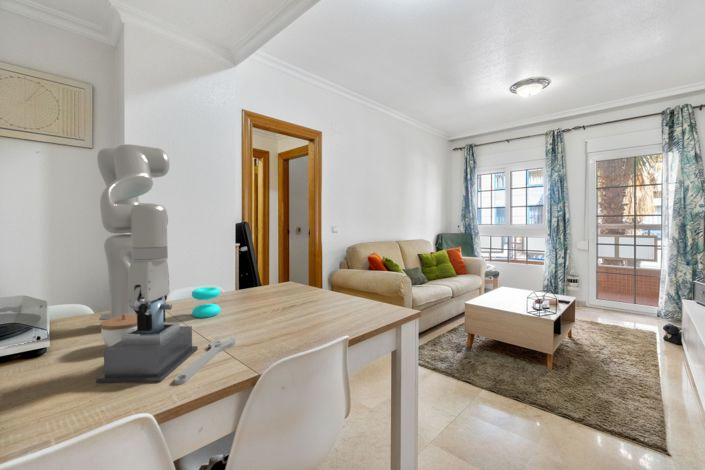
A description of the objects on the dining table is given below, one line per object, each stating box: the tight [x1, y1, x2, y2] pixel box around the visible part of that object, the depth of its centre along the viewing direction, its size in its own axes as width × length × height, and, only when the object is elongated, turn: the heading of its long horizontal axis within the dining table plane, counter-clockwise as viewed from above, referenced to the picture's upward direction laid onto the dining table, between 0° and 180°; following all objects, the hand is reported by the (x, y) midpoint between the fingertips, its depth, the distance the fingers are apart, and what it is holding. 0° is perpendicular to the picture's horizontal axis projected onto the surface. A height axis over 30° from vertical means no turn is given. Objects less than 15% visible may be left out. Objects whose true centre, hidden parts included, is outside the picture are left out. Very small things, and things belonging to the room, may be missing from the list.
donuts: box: [191, 286, 221, 319], centre depth 122 cm, size 10×10×10 cm
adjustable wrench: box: [174, 336, 236, 386], centre depth 82 cm, size 25×6×2 cm, turn 173°
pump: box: [140, 300, 173, 333], centre depth 79 cm, size 7×5×7 cm
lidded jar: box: [99, 314, 137, 348], centre depth 91 cm, size 11×11×9 cm
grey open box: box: [96, 322, 198, 384], centre depth 79 cm, size 14×18×9 cm
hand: (151, 325), depth 79 cm, fingers closed on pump, 4 cm apart
